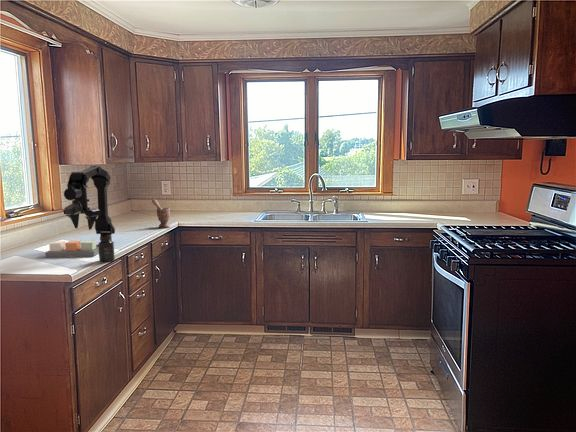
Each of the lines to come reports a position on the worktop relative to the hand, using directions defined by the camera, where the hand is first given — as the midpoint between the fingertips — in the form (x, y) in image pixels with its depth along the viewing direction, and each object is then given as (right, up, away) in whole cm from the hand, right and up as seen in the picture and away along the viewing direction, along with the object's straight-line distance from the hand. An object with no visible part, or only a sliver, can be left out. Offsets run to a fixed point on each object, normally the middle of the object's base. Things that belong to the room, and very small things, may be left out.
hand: (83, 228), depth 220 cm
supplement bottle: (+16, -15, -9) cm, 23 cm away
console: (-6, -13, +3) cm, 15 cm away
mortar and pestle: (+17, -2, +79) cm, 81 cm away
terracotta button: (-6, -11, +3) cm, 12 cm away
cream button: (-14, -11, +2) cm, 17 cm away
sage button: (+1, -10, +3) cm, 11 cm away
